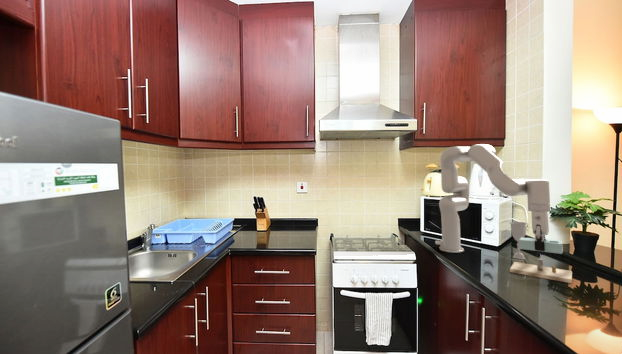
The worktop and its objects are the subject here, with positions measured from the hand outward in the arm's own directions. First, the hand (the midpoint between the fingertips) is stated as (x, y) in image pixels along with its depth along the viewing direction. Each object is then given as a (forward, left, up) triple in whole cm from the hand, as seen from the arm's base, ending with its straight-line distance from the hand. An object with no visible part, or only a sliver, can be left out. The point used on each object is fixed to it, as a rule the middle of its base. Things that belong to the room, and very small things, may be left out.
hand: (540, 248), depth 120 cm
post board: (0, 0, -11) cm, 11 cm away
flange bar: (0, 0, -1) cm, 1 cm away
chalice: (-10, +20, -11) cm, 25 cm away
